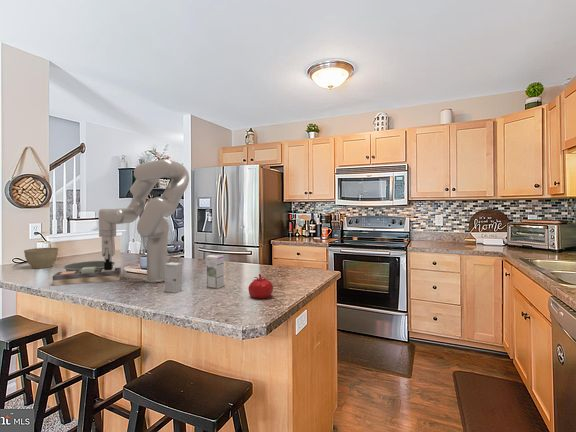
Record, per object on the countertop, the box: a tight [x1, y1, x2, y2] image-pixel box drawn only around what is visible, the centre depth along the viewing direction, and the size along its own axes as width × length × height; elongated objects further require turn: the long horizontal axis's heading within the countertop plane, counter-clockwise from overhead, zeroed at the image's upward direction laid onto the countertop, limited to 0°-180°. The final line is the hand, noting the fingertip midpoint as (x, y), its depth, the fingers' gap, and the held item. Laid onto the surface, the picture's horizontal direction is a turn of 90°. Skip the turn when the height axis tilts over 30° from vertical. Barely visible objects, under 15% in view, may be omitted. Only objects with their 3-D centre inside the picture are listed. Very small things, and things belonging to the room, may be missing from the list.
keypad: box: [52, 267, 122, 287], centre depth 154 cm, size 27×10×4 cm, turn 114°
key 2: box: [101, 267, 116, 272], centre depth 157 cm, size 6×6×2 cm
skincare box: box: [164, 261, 183, 294], centre depth 135 cm, size 6×4×12 cm
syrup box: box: [206, 253, 225, 290], centre depth 142 cm, size 6×6×14 cm
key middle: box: [81, 267, 96, 273], centre depth 154 cm, size 6×6×2 cm
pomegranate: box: [247, 273, 274, 299], centre depth 127 cm, size 10×10×9 cm
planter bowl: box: [23, 247, 59, 269], centre depth 187 cm, size 16×16×11 cm
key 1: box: [60, 271, 76, 275], centre depth 150 cm, size 6×6×2 cm
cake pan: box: [63, 260, 116, 271], centre depth 175 cm, size 25×25×4 cm
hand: (108, 269), depth 157 cm, fingers closed
